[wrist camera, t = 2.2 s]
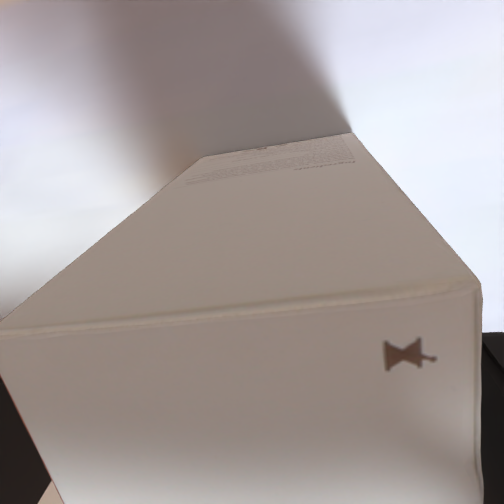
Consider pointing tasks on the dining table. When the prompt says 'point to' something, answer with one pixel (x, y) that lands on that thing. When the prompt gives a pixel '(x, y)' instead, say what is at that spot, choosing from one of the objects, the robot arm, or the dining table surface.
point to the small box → (258, 344)
